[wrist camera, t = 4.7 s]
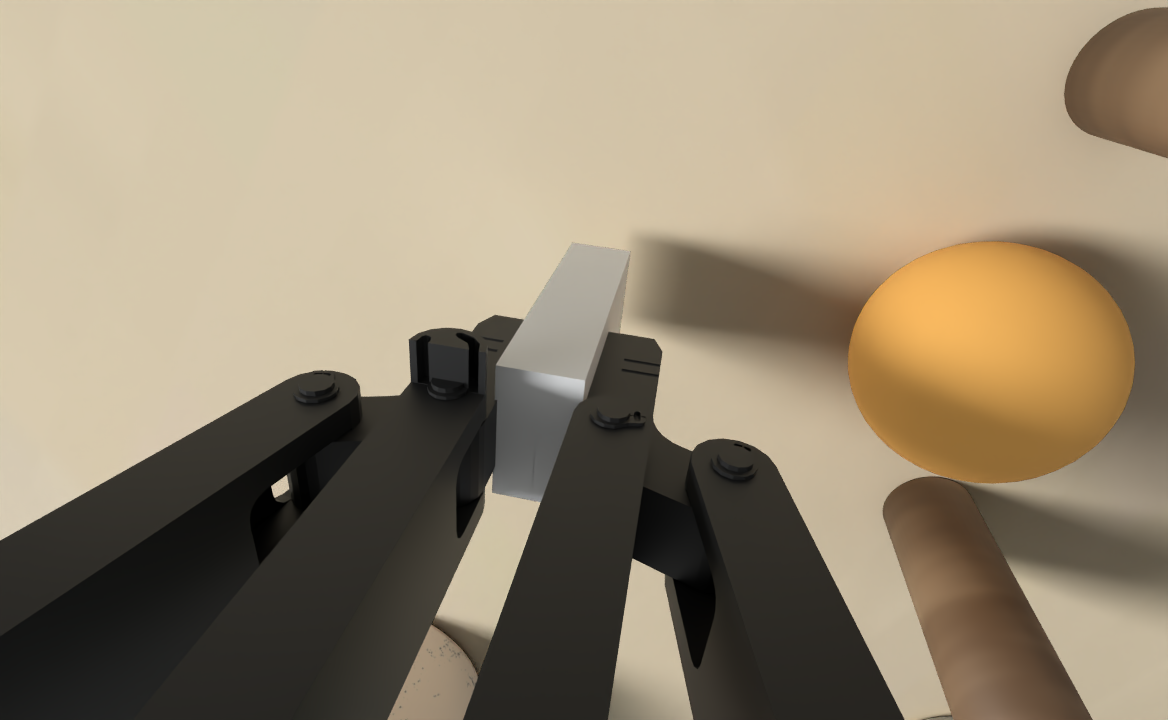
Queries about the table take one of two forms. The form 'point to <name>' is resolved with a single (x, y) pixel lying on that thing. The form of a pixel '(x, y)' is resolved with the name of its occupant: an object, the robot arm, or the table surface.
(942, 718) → the energy drink
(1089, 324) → the ball
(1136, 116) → the post
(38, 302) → the table surface
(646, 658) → the table surface
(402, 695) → the teacup with lid
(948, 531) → the post
